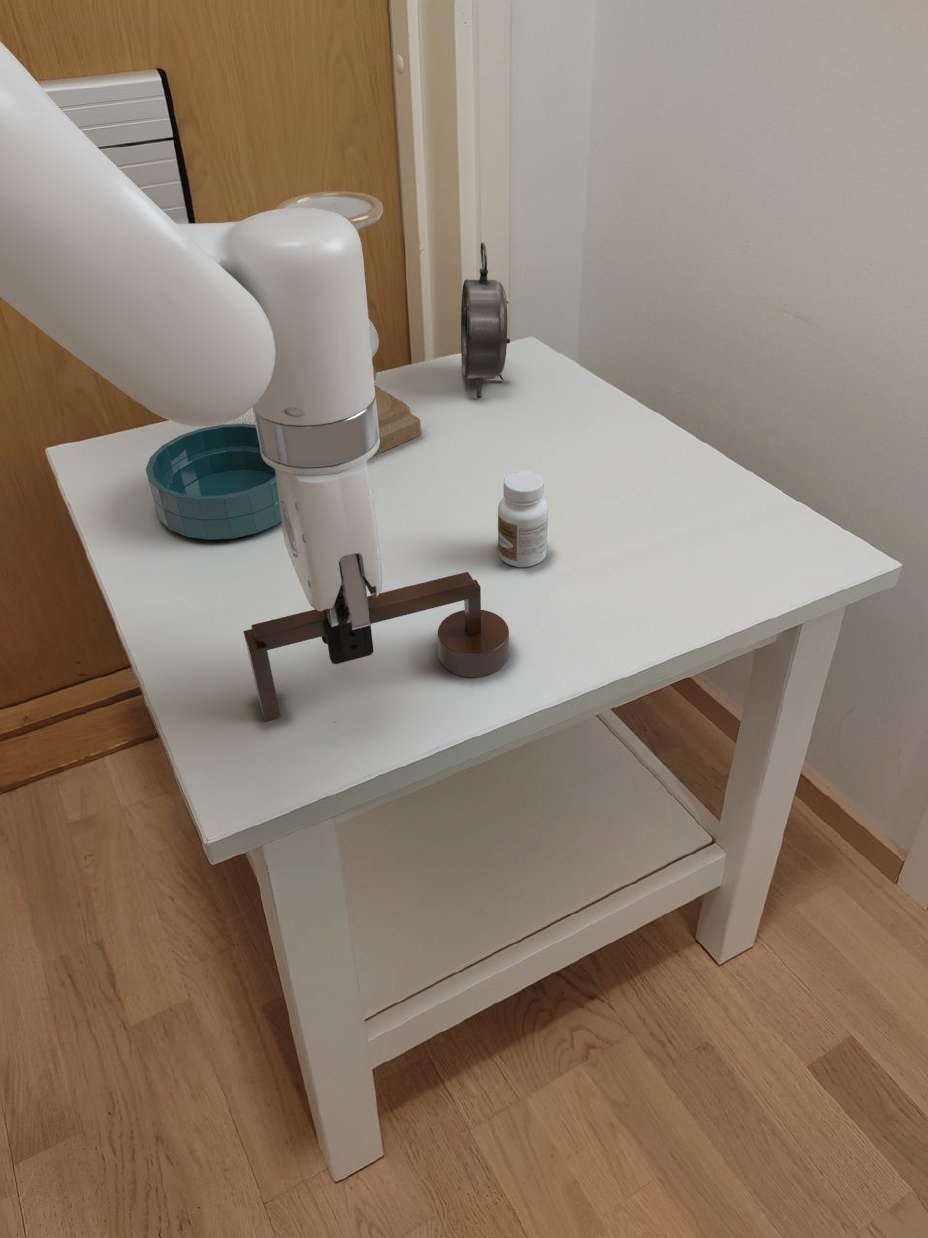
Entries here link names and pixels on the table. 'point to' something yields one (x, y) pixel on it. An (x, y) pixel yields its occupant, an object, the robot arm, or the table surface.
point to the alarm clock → (483, 327)
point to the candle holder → (390, 410)
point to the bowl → (214, 483)
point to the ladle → (463, 637)
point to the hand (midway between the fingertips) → (347, 646)
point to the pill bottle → (522, 520)
